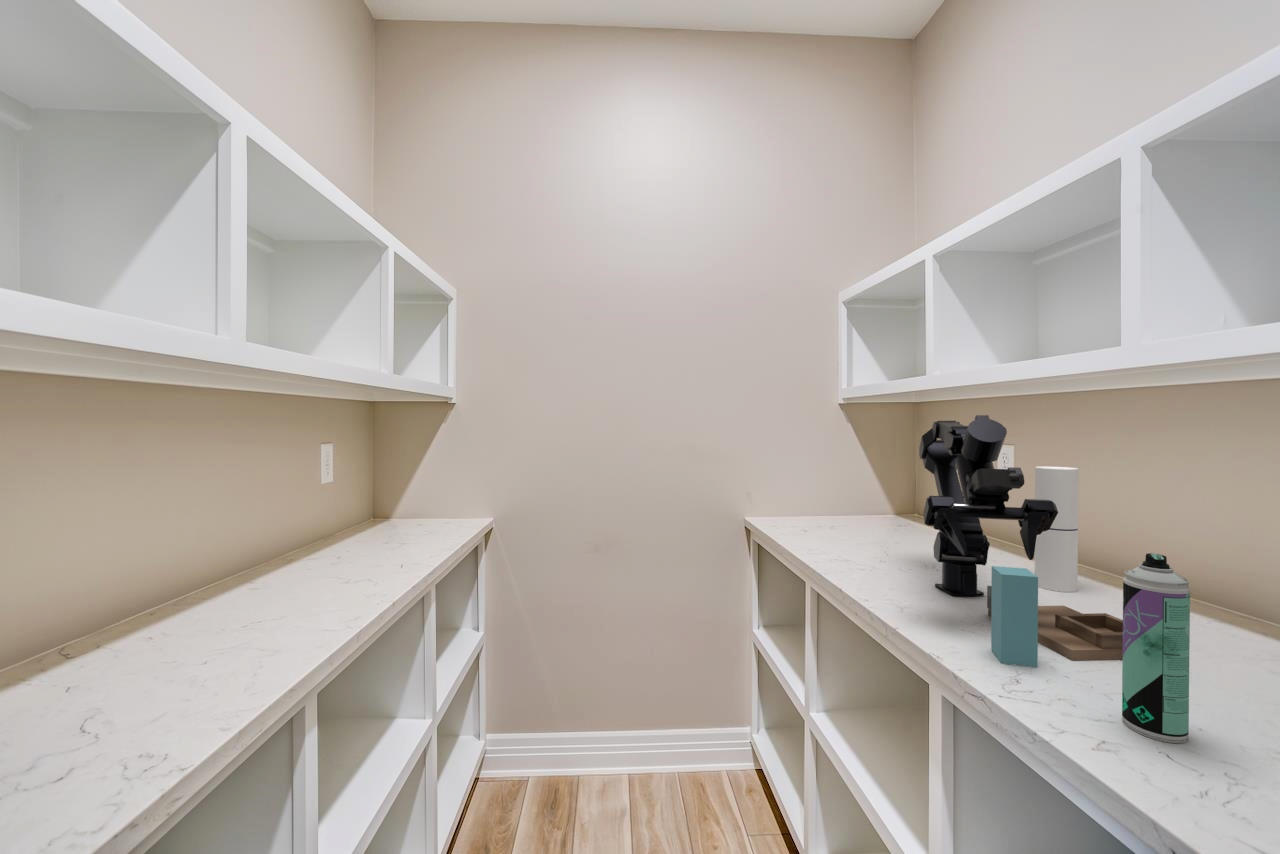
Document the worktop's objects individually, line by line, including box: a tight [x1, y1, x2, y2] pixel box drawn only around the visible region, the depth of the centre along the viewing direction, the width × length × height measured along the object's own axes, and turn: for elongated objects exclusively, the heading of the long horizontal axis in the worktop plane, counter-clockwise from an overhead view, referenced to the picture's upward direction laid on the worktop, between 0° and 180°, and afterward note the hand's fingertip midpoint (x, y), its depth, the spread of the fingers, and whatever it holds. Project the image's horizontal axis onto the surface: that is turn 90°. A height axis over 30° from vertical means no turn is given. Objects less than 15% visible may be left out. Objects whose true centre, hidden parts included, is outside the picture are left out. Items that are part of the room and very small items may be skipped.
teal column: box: [990, 565, 1039, 668], centre depth 79 cm, size 4×4×13 cm
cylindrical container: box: [1034, 465, 1079, 593], centre depth 112 cm, size 7×7×25 cm
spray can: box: [1121, 552, 1191, 744], centre depth 61 cm, size 6×6×20 cm
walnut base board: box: [986, 585, 1123, 661], centre depth 87 cm, size 18×14×6 cm
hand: (997, 556), depth 86 cm, fingers open, 9 cm apart
